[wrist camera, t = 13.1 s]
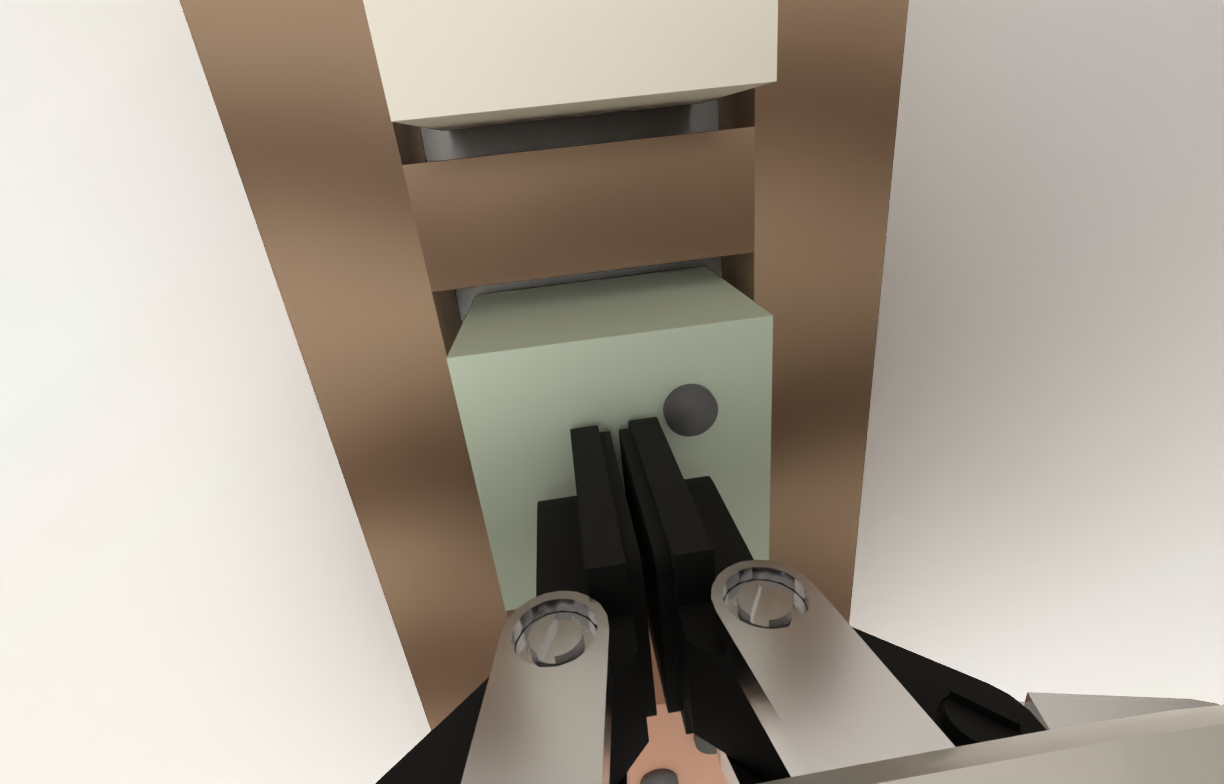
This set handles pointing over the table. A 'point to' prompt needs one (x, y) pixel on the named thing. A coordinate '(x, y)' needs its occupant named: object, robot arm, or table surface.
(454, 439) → the tray
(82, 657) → the table surface
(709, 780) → the tile three pip
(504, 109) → the tile one pip
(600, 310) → the tile two pip
